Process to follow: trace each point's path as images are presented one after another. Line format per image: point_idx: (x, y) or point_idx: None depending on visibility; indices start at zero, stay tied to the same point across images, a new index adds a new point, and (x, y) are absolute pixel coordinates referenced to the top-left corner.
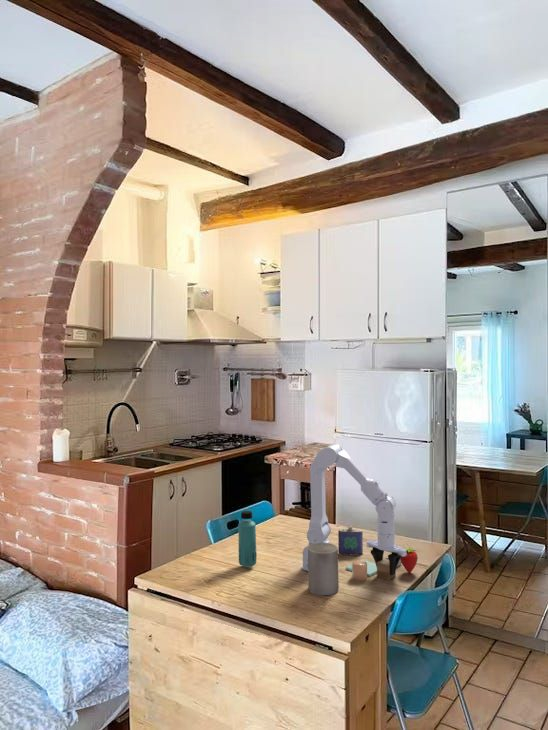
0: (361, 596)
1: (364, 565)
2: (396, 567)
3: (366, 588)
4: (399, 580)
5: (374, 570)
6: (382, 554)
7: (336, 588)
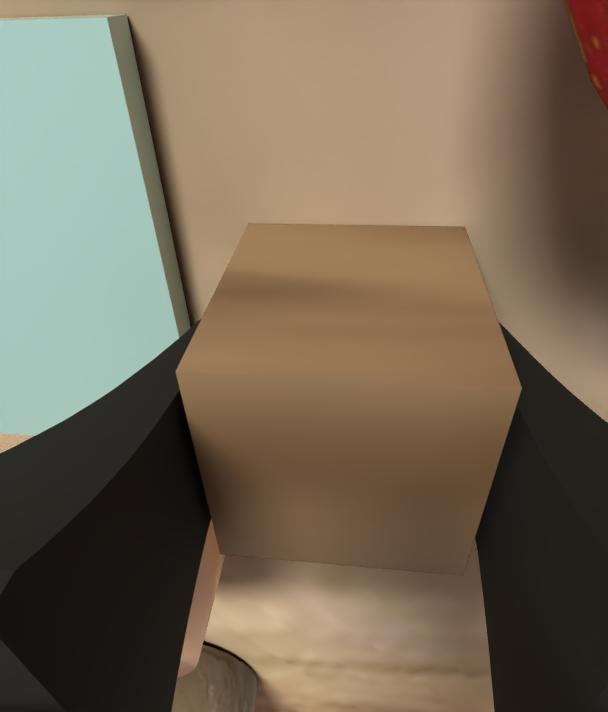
0: (403, 660)
1: (194, 659)
2: (547, 375)
3: (357, 588)
4: (575, 318)
5: (142, 322)
6: (130, 501)
7: (250, 705)
